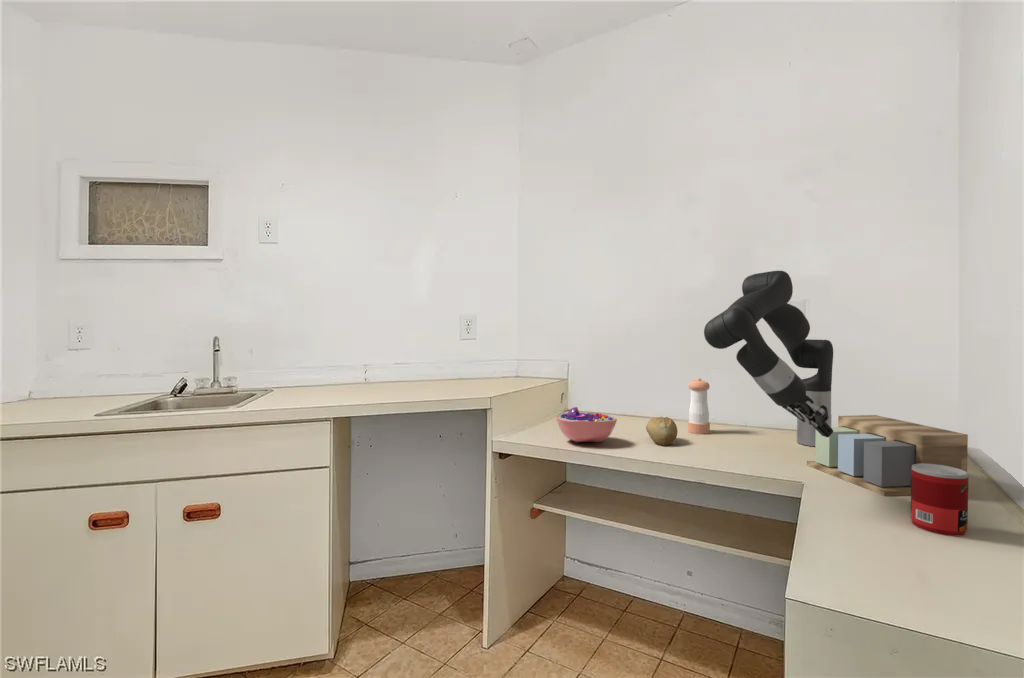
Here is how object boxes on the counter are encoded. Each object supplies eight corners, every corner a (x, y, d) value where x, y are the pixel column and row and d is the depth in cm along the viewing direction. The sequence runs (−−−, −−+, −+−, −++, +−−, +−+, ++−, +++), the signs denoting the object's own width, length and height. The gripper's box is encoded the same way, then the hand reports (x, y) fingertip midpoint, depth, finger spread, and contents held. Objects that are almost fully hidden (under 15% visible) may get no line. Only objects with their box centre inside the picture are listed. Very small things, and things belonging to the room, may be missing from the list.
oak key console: (806, 464, 133) (807, 416, 133) (875, 462, 135) (875, 415, 135) (884, 495, 109) (885, 436, 108) (966, 492, 111) (967, 434, 110)
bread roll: (670, 436, 169) (670, 413, 169) (682, 447, 154) (682, 421, 154) (642, 436, 170) (642, 413, 170) (651, 446, 155) (651, 421, 155)
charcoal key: (863, 479, 116) (864, 441, 115) (902, 478, 117) (903, 440, 116) (881, 486, 111) (881, 446, 110) (922, 485, 112) (922, 445, 111)
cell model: (612, 450, 150) (612, 413, 150) (549, 445, 157) (549, 410, 157) (620, 438, 166) (620, 405, 165) (562, 434, 173) (562, 402, 172)
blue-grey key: (837, 470, 124) (838, 434, 123) (874, 468, 125) (875, 433, 124) (853, 476, 119) (853, 438, 118) (891, 474, 120) (892, 437, 119)
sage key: (815, 461, 132) (815, 427, 131) (850, 460, 132) (850, 427, 132) (829, 466, 127) (829, 431, 126) (865, 465, 127) (865, 430, 127)
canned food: (972, 540, 86) (973, 477, 86) (913, 530, 90) (914, 470, 90) (961, 525, 93) (962, 467, 92) (907, 516, 97) (908, 461, 97)
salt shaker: (713, 434, 172) (713, 379, 172) (692, 434, 172) (692, 379, 172) (705, 429, 179) (705, 377, 179) (685, 429, 179) (685, 377, 179)
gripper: (809, 371, 104) (862, 427, 105) (771, 366, 117) (818, 417, 119) (785, 396, 104) (839, 453, 105) (749, 389, 117) (797, 439, 118)
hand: (828, 433), depth 112 cm, fingers closed
